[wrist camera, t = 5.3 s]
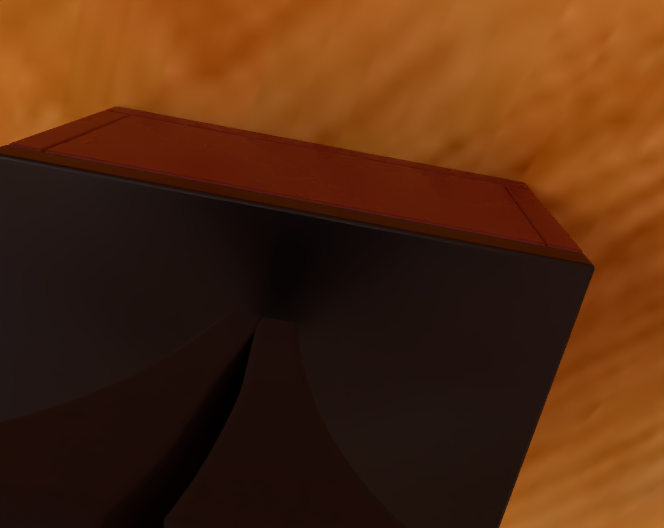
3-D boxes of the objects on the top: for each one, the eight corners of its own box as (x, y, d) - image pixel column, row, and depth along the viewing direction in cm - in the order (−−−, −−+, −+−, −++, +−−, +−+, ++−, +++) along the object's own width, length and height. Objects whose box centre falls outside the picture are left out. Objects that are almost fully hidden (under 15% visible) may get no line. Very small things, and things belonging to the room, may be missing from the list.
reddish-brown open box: (441, 459, 23) (460, 598, 17) (104, 396, 23) (18, 514, 17) (525, 182, 18) (584, 251, 13) (114, 105, 19) (5, 142, 13)
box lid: (455, 613, 17) (458, 640, 17) (19, 530, 17) (2, 553, 17) (585, 252, 13) (596, 266, 12) (4, 143, 13) (-19, 151, 12)
